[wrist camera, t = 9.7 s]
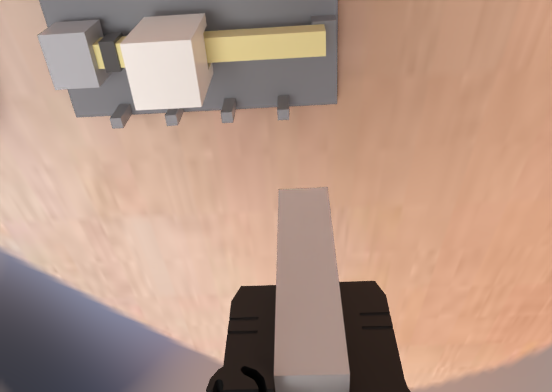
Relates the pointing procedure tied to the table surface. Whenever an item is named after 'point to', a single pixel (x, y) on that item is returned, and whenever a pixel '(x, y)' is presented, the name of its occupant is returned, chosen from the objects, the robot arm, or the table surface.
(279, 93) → the cable comb
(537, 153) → the table surface
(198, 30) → the sleeve
